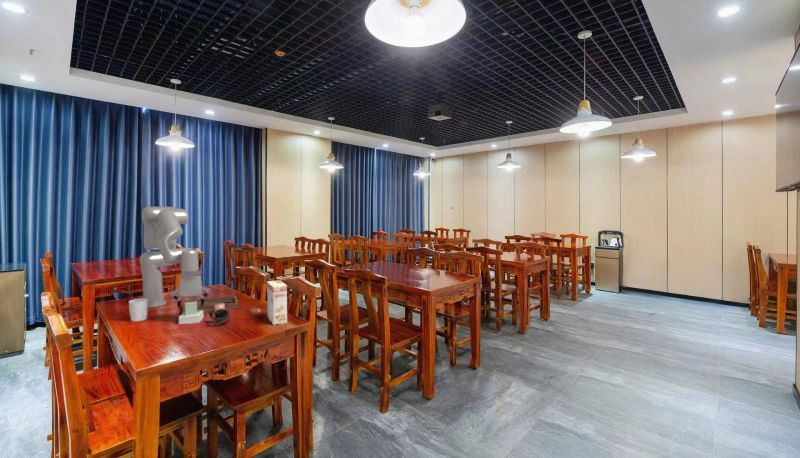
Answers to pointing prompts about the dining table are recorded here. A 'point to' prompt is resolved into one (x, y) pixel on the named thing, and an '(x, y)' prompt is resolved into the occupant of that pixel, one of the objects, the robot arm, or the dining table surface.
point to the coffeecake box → (277, 302)
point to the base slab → (190, 318)
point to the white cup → (138, 309)
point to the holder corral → (215, 301)
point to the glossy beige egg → (219, 306)
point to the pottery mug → (219, 316)
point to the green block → (191, 308)
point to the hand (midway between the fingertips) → (191, 307)
